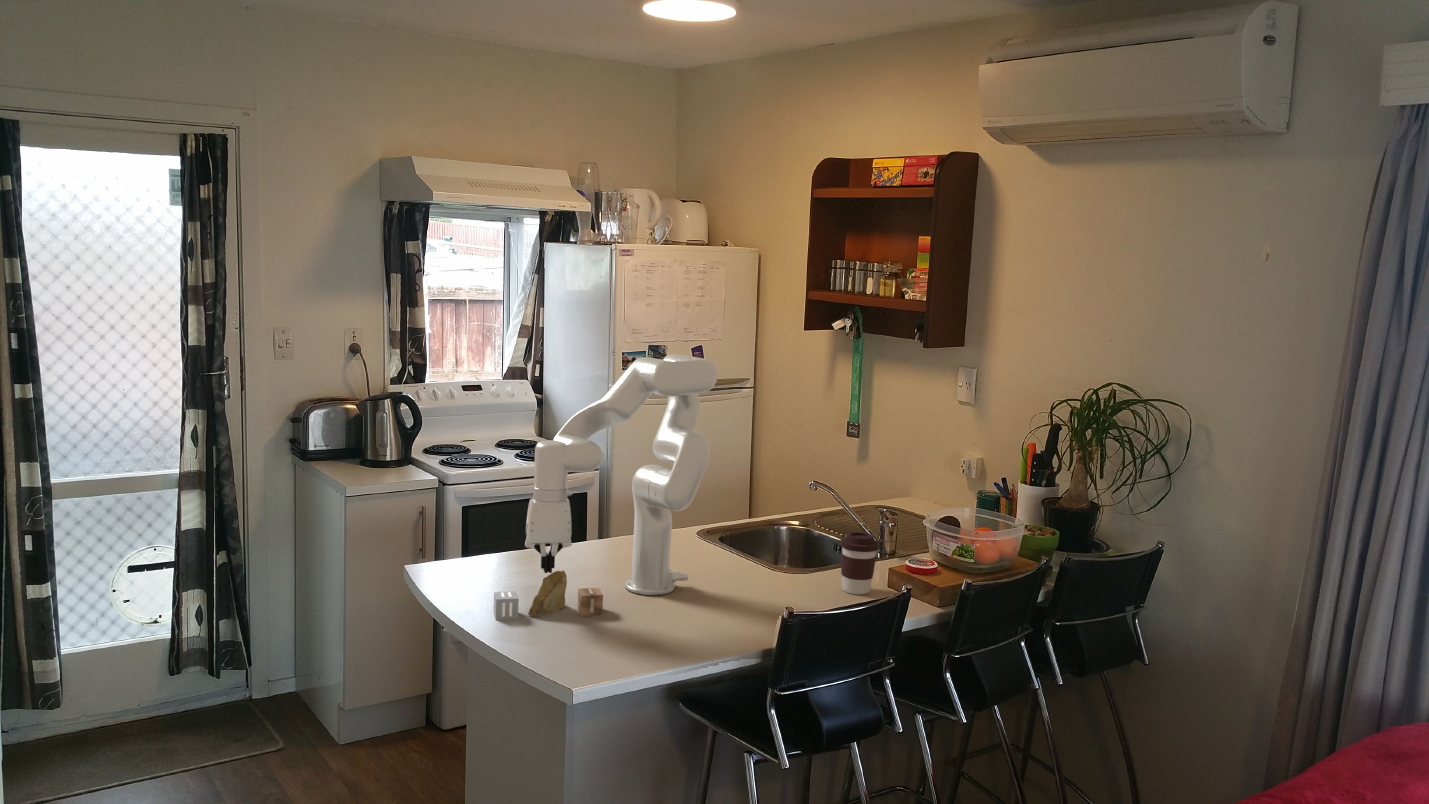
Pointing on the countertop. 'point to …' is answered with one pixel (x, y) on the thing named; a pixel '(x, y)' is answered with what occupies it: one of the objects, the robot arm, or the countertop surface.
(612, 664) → the countertop surface
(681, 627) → the countertop surface
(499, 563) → the countertop surface
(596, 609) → the walnut block
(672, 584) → the robot arm
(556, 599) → the rock
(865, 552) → the coffee cup
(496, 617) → the grey block
